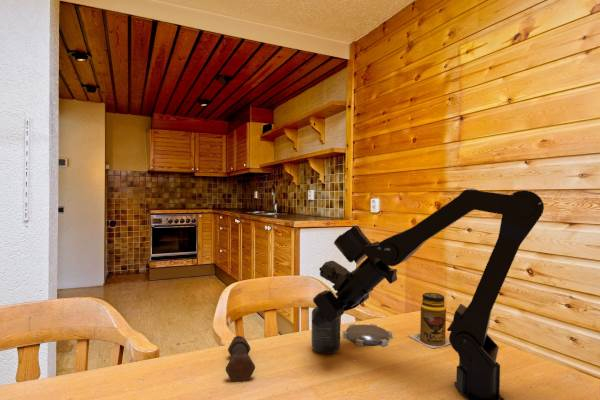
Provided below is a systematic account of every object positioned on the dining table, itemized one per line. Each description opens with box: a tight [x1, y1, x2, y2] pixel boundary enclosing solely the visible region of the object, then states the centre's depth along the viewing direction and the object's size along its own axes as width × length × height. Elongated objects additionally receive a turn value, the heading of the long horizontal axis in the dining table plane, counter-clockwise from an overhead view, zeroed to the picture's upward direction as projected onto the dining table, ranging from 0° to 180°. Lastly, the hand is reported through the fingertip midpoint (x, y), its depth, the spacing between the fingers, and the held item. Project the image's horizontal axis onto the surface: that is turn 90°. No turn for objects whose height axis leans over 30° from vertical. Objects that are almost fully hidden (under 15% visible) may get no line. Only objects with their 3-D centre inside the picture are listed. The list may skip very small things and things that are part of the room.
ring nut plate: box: [341, 323, 393, 347], centre depth 94 cm, size 13×12×1 cm
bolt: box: [225, 335, 256, 383], centre depth 78 cm, size 6×5×15 cm
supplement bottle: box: [311, 306, 341, 354], centre depth 85 cm, size 7×7×12 cm
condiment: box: [408, 292, 451, 349], centre depth 92 cm, size 7×8×12 cm
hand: (320, 318), depth 86 cm, fingers closed on supplement bottle, 7 cm apart
